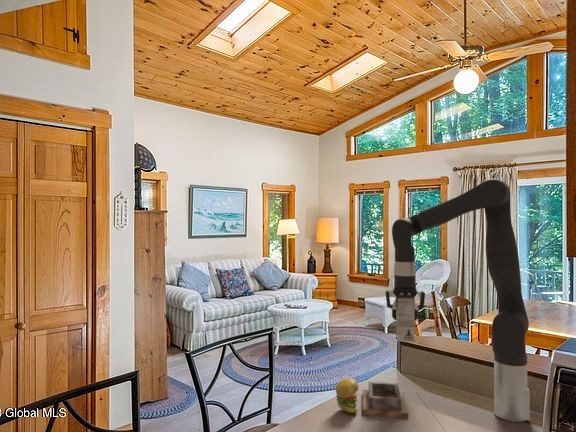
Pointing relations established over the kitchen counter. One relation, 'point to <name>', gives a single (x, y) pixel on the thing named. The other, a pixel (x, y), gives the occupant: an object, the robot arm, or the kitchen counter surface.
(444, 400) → the kitchen counter surface
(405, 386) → the kitchen counter surface
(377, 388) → the socket stand
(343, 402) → the hamburger
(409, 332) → the coffee box
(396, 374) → the kitchen counter surface
